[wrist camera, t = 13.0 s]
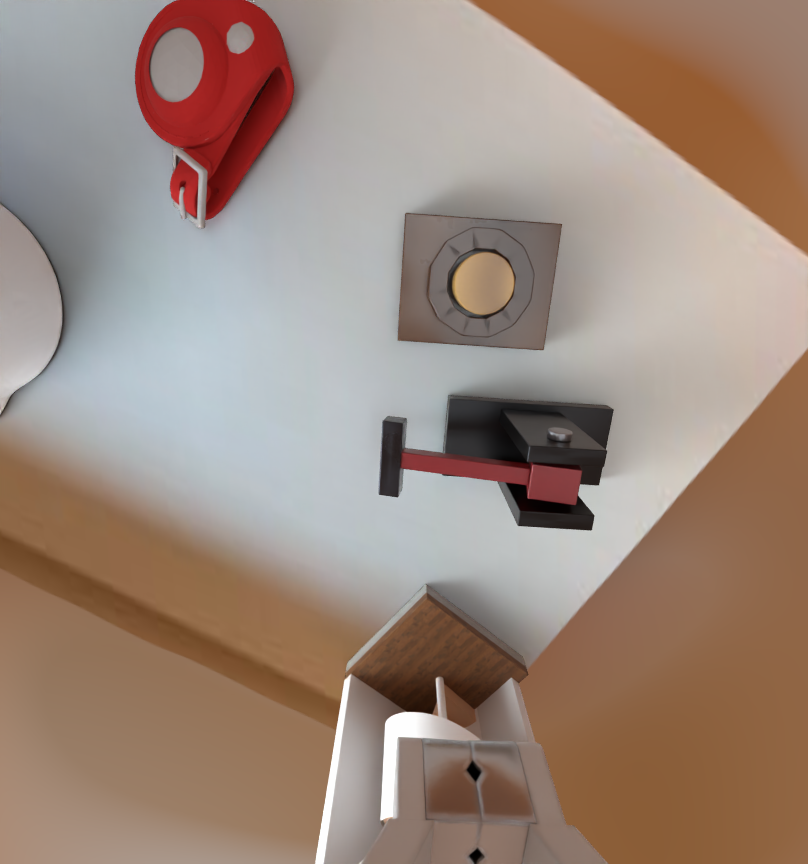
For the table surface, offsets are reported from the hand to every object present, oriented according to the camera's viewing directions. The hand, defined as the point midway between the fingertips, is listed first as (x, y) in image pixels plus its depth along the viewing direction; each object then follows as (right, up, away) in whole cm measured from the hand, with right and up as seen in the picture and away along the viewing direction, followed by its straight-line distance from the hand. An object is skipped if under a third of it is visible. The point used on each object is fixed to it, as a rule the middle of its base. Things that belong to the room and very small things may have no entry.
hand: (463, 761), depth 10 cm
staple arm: (+4, +5, +21) cm, 22 cm away
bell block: (+4, +17, +24) cm, 30 cm away
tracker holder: (-14, +27, +21) cm, 37 cm away
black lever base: (+8, +6, +27) cm, 29 cm away
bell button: (+4, +16, +20) cm, 26 cm away
